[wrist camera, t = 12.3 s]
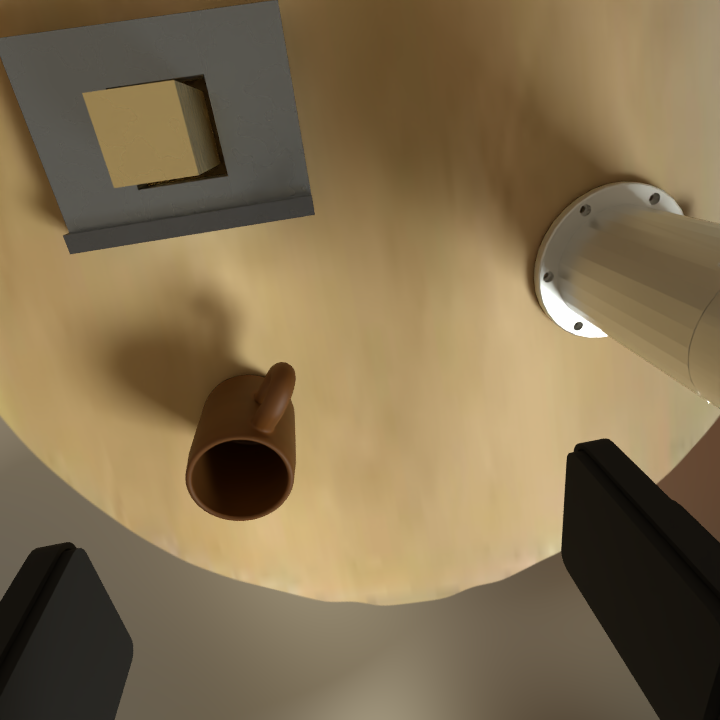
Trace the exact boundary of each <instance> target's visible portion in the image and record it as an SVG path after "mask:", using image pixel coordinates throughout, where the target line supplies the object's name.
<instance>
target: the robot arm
mask: <svg viewBox="0 0 720 720" xmlns="http://www.w3.org/2000/svg"><path fill="white" fill-rule="evenodd" d="M581 207H582V210H581V211H580V209H581ZM545 273H546V275H545V276H544V274H545ZM534 284H535V292H536V295H537V298H538V301H539V304H540V306H541V307H542V309H543V311H544V312H545V314H546V315H547V316H548V317H549V318H550V319H551V320H552V321H553V322H554V323H555V324H557V325H558V326H559V327H561V328H562V329H564V330H565V331H567V332H569V333H571V334H574V335H578V336H583V337H588V338H601V337H606V336H609V337H611V338H612V339H614V340H615V341H617V342H618V343H620V344H621V345H623V346H624V347H626V348H627V349H629V350H630V351H632V352H633V353H635V354H636V355H638V356H639V357H641V358H642V359H644V360H645V361H647V362H648V363H650V364H652V365H653V366H655V367H656V368H658V369H659V370H661V371H662V372H664V373H665V374H667V375H668V376H670V377H671V378H673V379H674V380H676V381H677V382H679V383H680V384H682V385H683V386H685V387H686V388H688V389H689V390H691V391H692V392H694V393H695V394H697V395H698V396H700V397H701V398H703V399H705V400H706V401H708V402H709V403H711V404H713V405H714V406H716V407H717V408H719V409H720V224H719V223H714V222H710V221H706V220H701V219H697V218H692V217H688V216H684V214H683V212H682V209H681V208H680V206H679V205H678V204H677V202H676V201H675V200H674V199H673V198H672V197H671V196H670V195H669V194H667V193H666V192H665V191H663V190H662V189H659V188H657V187H655V186H652V185H649V184H644V183H639V182H624V181H622V182H616V183H610V184H606V185H603V186H601V187H598V188H595V189H592V190H591V191H589V192H587V193H586V194H584V195H582V196H580V197H579V198H577V199H576V200H575V201H574V202H572V203H571V204H570V205H569V206H568V207H566V208H565V209H564V210H563V212H562V213H561V214H560V215H559V216H558V217H557V218H556V219H555V221H554V222H553V223H552V225H551V227H550V228H549V230H548V231H547V233H546V234H545V236H544V239H543V241H542V243H541V246H540V248H539V250H538V254H537V258H536V262H535V270H534ZM561 553H562V558H563V562H564V564H565V567H566V569H567V570H568V572H569V574H570V576H571V577H572V579H573V580H574V582H575V584H576V585H577V587H578V589H579V590H580V592H581V593H582V595H583V597H584V598H585V600H586V601H587V603H588V605H589V606H590V608H591V609H592V611H593V613H594V614H595V616H596V617H597V619H598V621H599V622H600V624H601V625H602V627H603V628H604V630H605V632H606V633H607V635H608V637H609V638H610V640H611V642H612V643H613V645H614V646H615V648H616V650H617V651H618V653H619V654H620V656H621V658H622V659H623V661H624V662H625V664H626V666H627V667H628V669H629V670H630V672H631V674H632V675H633V676H634V678H635V680H636V682H637V683H638V685H639V686H640V688H641V689H642V691H643V693H644V694H645V696H646V698H647V699H648V701H649V702H650V704H651V706H652V707H653V709H654V711H655V712H656V714H657V715H658V717H659V718H660V720H720V543H719V542H718V541H717V540H716V539H715V538H714V537H713V536H712V535H711V534H710V533H709V532H708V531H707V530H706V529H705V528H704V527H703V526H701V524H700V523H699V522H698V521H697V520H696V519H695V518H693V516H691V515H690V514H689V513H688V512H687V511H686V510H685V509H684V508H683V507H682V506H681V505H680V504H678V503H677V502H676V501H674V500H671V499H670V498H669V497H668V496H667V495H666V494H665V493H664V492H663V491H662V490H661V489H660V488H659V487H658V486H657V485H656V484H655V483H654V482H653V481H652V480H651V479H650V478H649V477H648V476H647V475H646V474H645V473H644V472H643V471H642V470H641V469H640V468H639V467H638V466H637V465H636V464H635V463H634V462H633V461H632V460H631V459H630V458H629V457H627V456H626V455H625V454H624V453H623V452H622V451H621V450H620V449H619V448H618V447H617V446H616V445H615V444H614V443H613V442H612V441H611V440H609V439H606V438H605V439H599V440H594V441H589V442H584V443H579V444H577V445H576V446H575V448H574V452H572V453H569V454H568V456H567V464H566V480H565V497H564V514H563V531H562V547H561ZM132 658H133V643H132V640H131V637H130V635H129V633H128V632H127V630H126V628H125V626H124V624H123V622H122V620H121V618H120V616H119V614H118V612H117V610H116V609H115V607H114V605H113V603H112V601H111V599H110V597H109V595H108V594H107V592H106V590H105V588H104V586H103V584H102V582H101V580H100V578H99V576H98V574H97V572H96V571H95V569H94V567H93V565H92V563H91V561H90V559H89V557H88V555H87V553H86V552H85V550H84V549H82V548H76V547H75V545H74V544H72V543H70V542H66V543H61V544H55V545H51V546H46V547H40V548H36V549H35V550H33V551H32V552H31V553H30V554H29V556H28V557H27V559H26V560H25V562H24V564H23V565H22V567H21V569H20V570H19V572H18V573H17V575H16V577H15V578H14V580H13V582H12V583H11V585H10V587H9V588H8V590H7V591H6V593H5V595H4V596H3V598H2V600H1V601H0V720H114V719H115V716H116V713H117V709H118V706H119V703H120V699H121V696H122V693H123V689H124V686H125V682H126V679H127V676H128V672H129V669H130V666H131V662H132Z"/></svg>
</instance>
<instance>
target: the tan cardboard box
mask: <svg viewBox="0 0 720 720" xmlns="http://www.w3.org/2000/svg"><path fill="white" fill-rule="evenodd" d="M82 94H83V97H84V100H85V103H86V106H87V109H88V112H89V115H90V118H91V121H92V124H93V127H94V130H95V133H96V136H97V139H98V142H99V145H100V148H101V151H102V154H103V157H104V160H105V162H106V165H107V168H108V171H109V174H110V177H111V180H112V183H113V186H114V188H119V187H125V186H132V185H138V184H145V183H151V182H158V181H164V180H171V179H177V178H184V177H190V176H197V175H200V174H202V173H204V172H206V171H208V170H209V169H211V168H213V167H215V166H217V165H219V164H220V160H219V155H218V151H217V147H216V143H215V139H214V135H213V131H212V126H211V122H210V118H209V114H208V110H207V106H206V102H205V97H204V93H203V91H201V90H198V89H195V88H193V87H190V86H188V85H185V84H183V83H180V82H178V81H175V80H170V81H163V82H156V83H149V84H142V85H135V86H128V87H121V88H114V89H107V90H100V91H93V92H86V93H82Z"/></svg>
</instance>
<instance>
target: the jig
mask: <svg viewBox="0 0 720 720" xmlns="http://www.w3.org/2000/svg"><path fill="white" fill-rule="evenodd" d="M0 57H1V60H2V62H3V65H4V67H5V70H6V72H7V75H8V77H9V80H10V83H11V85H12V88H13V90H14V93H15V95H16V98H17V100H18V103H19V106H20V108H21V111H22V113H23V116H24V118H25V121H26V123H27V126H28V129H29V131H30V134H31V136H32V139H33V141H34V144H35V146H36V149H37V152H38V154H39V157H40V159H41V162H42V164H43V167H44V169H45V172H46V175H47V177H48V180H49V182H50V185H51V187H52V190H53V192H54V195H55V198H56V200H57V203H58V205H59V208H60V210H61V213H62V215H63V218H64V221H65V223H66V226H67V228H68V231H69V233H67V234H65V235H63V237H64V240H65V242H66V245H67V247H68V250H69V252H70V254H75V253H81V252H87V251H93V250H99V249H105V248H112V247H118V246H124V245H130V244H136V243H143V242H149V241H155V240H161V239H167V238H173V237H180V236H186V235H192V234H198V233H204V232H210V231H217V230H223V229H229V228H235V227H241V226H247V225H254V224H260V223H266V222H272V221H278V220H285V219H291V218H297V217H303V216H309V215H315V212H314V207H313V201H312V195H311V191H310V185H309V179H308V173H307V167H306V161H305V156H304V150H303V144H302V138H301V132H300V127H299V121H298V115H297V109H296V103H295V97H294V92H293V86H292V80H291V74H290V68H289V63H288V57H287V51H286V45H285V39H284V34H283V28H282V22H281V16H280V10H279V4H278V0H273V1H265V2H258V3H251V4H243V5H236V6H229V7H222V8H214V9H207V10H200V11H193V12H185V13H178V14H171V15H163V16H156V17H149V18H142V19H134V20H127V21H120V22H113V23H105V24H98V25H91V26H84V27H76V28H69V29H62V30H54V31H47V32H40V33H33V34H25V35H18V36H11V37H4V38H0ZM198 79H205V81H206V85H207V89H208V94H209V98H210V102H211V106H212V110H213V115H214V119H215V123H216V127H217V131H218V135H219V140H220V144H221V148H222V152H223V156H224V161H225V165H226V169H227V173H228V174H222V175H215V176H209V177H202V178H196V179H190V180H183V181H177V182H170V183H164V184H158V185H151V186H148V184H147V183H145V184H138V185H132V186H125V187H119V188H114V186H113V183H112V180H111V177H110V174H109V171H108V168H107V165H106V162H105V160H104V157H103V154H102V151H101V148H100V145H99V142H98V139H97V136H96V133H95V130H94V127H93V124H92V121H91V118H90V115H89V112H88V109H87V106H86V103H85V100H84V97H83V94H82V93H86V92H93V91H100V90H107V89H114V88H121V87H128V86H135V85H142V84H149V83H156V82H163V81H170V80H175V81H178V82H184V81H191V80H198Z"/></svg>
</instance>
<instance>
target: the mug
mask: <svg viewBox="0 0 720 720" xmlns="http://www.w3.org/2000/svg"><path fill="white" fill-rule="evenodd" d="M295 380H296V376H295V371H294V369H293V367H292V366H291V365H289V364H287V363H285V362H280V363H276V364H275V365H273V366H272V367H271V368H270V370H269V371H268V373H267V375H266V376H265V377H261V376H256V375H241V376H236V377H233V378H230V379H228V380H226V381H224V382H222V383H221V384H219V385H218V386H217V387H216V388H215V389H214V390H213V391H212V392H211V394H210V395H209V397H208V399H207V400H206V403H205V405H204V408H203V411H202V415H201V418H200V420H199V423H198V426H197V429H196V433H195V436H194V439H193V442H192V446H191V449H190V452H189V457H188V463H187V469H186V486H187V489H188V491H189V493H190V495H191V497H192V499H193V500H194V501H195V503H196V504H197V505H198V506H199V507H201V508H202V509H203V510H204V511H206V512H208V513H209V514H211V515H214V516H216V517H219V518H222V519H226V520H233V521H246V520H253V519H257V518H260V517H263V516H265V515H268V514H270V513H271V512H273V511H275V510H276V509H277V508H279V507H280V506H281V505H282V504H283V503H284V501H285V500H286V499H287V497H288V496H289V494H290V492H291V490H292V487H293V483H294V474H295V465H296V445H295V415H294V408H293V404H292V402H291V396H292V393H293V390H294V386H295Z"/></svg>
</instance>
